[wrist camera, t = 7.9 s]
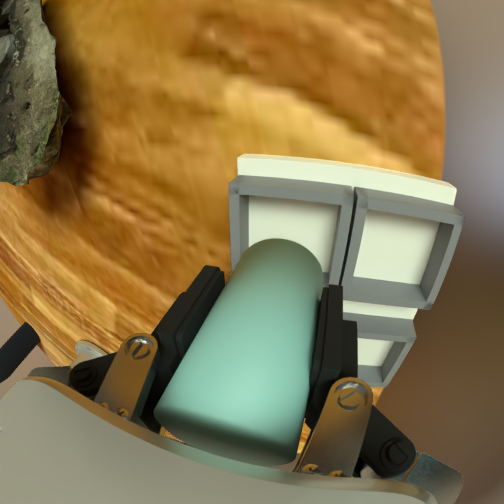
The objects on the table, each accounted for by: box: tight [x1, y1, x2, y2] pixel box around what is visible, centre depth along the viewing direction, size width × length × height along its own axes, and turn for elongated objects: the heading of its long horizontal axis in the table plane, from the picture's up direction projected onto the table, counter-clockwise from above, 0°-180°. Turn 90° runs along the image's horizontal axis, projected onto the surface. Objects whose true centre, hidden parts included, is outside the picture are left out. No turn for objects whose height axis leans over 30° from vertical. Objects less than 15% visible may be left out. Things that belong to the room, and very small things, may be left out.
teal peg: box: [154, 238, 323, 466], centre depth 9 cm, size 4×4×8 cm
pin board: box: [229, 154, 465, 387], centre depth 16 cm, size 18×14×10 cm
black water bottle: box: [0, 322, 40, 383], centre depth 37 cm, size 6×6×30 cm
